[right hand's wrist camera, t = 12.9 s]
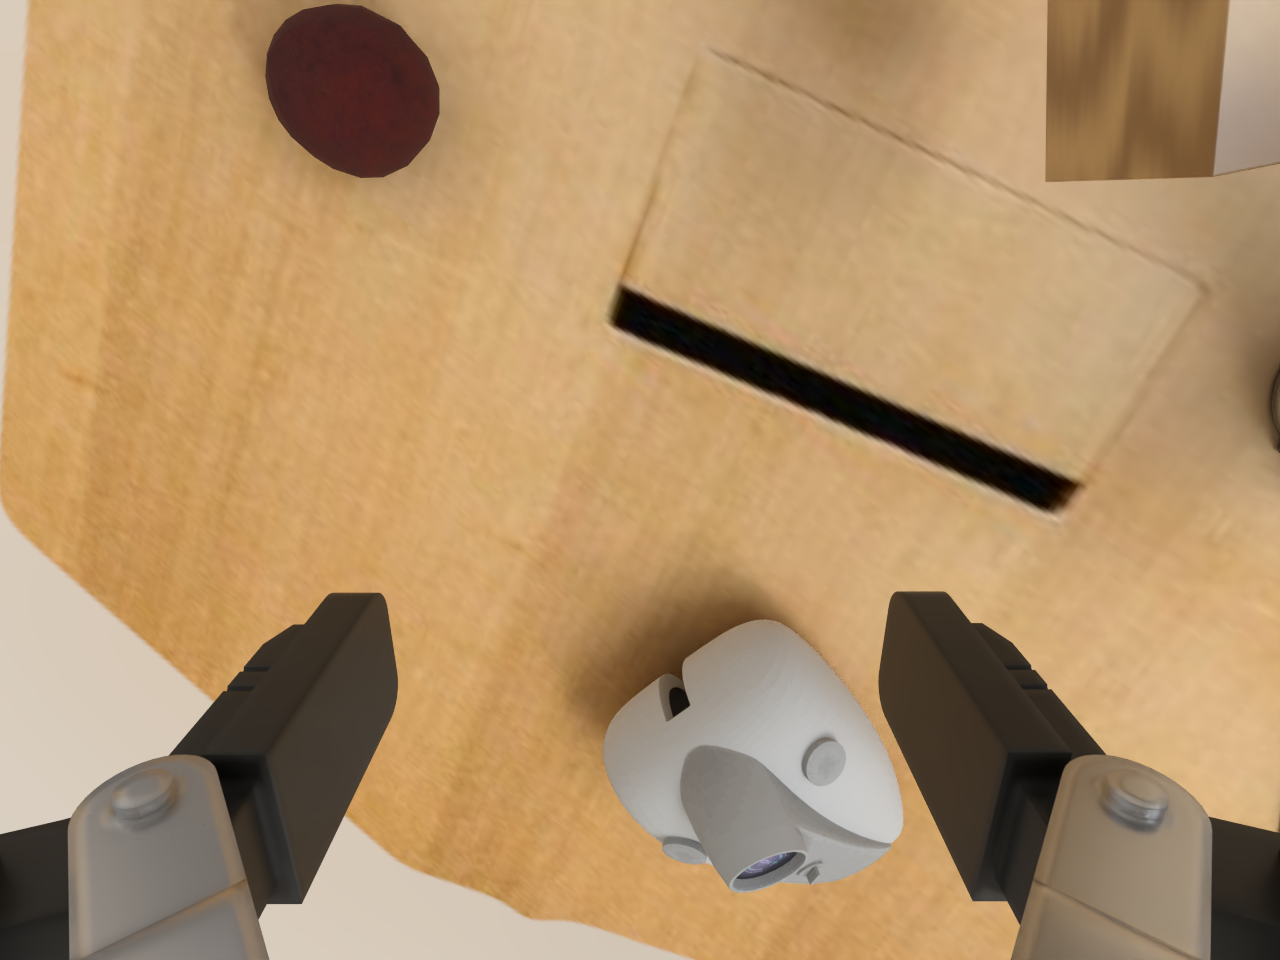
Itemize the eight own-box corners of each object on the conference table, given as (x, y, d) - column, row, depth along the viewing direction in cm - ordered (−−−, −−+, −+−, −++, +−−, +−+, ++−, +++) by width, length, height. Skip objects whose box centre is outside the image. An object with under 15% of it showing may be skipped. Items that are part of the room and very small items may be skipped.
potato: (290, 34, 37) (214, -2, 30) (438, 13, 36) (393, -28, 30) (329, 187, 39) (267, 185, 33) (467, 170, 39) (433, 163, 32)
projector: (606, 841, 57) (595, 1042, 43) (605, 592, 49) (592, 744, 35) (882, 844, 57) (958, 1046, 43) (928, 596, 49) (1040, 749, 35)
